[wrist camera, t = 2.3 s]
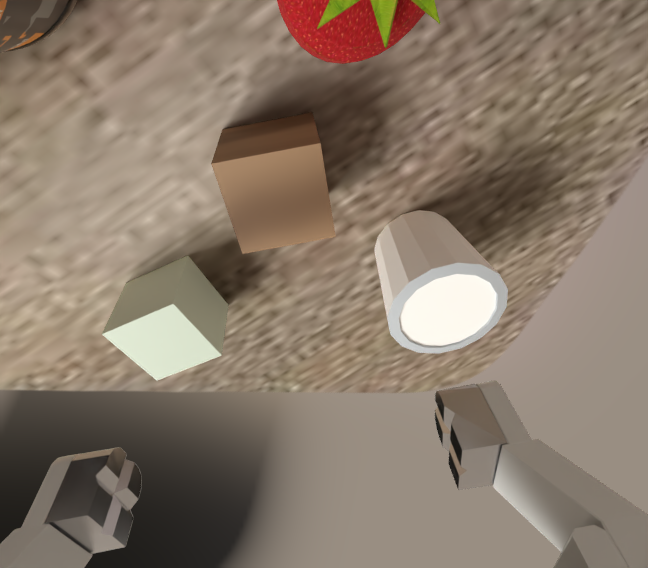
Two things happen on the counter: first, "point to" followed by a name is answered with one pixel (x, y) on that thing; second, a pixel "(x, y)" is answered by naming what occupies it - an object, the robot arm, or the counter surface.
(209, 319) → the sage block
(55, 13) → the supplement container
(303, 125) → the walnut block
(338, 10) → the strawberry
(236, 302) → the counter surface
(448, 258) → the shot glass
